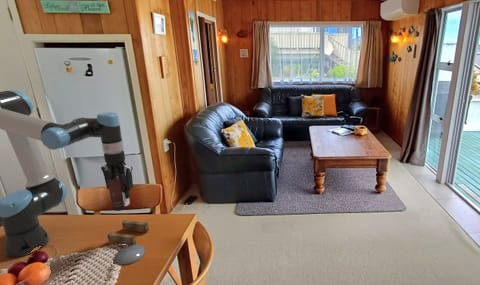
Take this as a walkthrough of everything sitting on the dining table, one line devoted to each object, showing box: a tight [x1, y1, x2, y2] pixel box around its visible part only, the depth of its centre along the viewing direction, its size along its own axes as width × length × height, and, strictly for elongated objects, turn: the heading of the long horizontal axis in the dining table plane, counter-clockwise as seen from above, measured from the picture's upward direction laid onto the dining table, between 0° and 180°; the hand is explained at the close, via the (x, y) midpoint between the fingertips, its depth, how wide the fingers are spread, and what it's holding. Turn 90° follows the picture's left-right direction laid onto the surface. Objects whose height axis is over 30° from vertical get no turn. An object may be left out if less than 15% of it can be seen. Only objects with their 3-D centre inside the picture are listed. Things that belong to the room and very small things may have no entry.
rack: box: [107, 220, 150, 246], centre depth 126 cm, size 12×12×4 cm
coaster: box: [114, 244, 146, 266], centre depth 115 cm, size 11×11×1 cm
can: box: [108, 176, 129, 212], centre depth 121 cm, size 6×6×14 cm
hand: (122, 204), depth 123 cm, fingers open, 3 cm apart
